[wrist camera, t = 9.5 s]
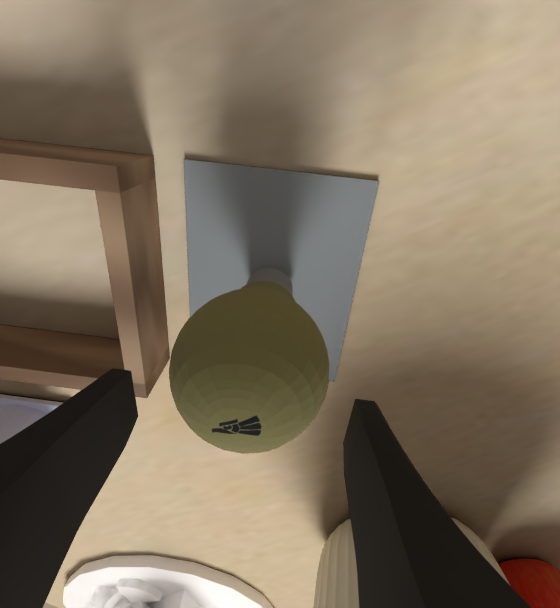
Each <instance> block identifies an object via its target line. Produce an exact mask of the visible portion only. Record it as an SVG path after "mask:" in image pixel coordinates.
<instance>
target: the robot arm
mask: <svg viewBox="0 0 560 608" xmlns="http://www.w3.org/2000/svg"><path fill="white" fill-rule="evenodd" d="M137 417H138V412H137V406H136V399H135V393H134V386H133V380H132V373H131V371H130V370H122V369H114V368H112V369H111V370H109V371H108V372H107V373H105V374H104V375H102V376H101V377H99V378H98V379H97V380H95V381H94V382H92V383H91V384H90V385H88V386H87V387H85V388H84V389H83V390H81V391H80V392H78V393H77V394H76V395H74V396H73V397H71V398H70V399H68V400H67V401H66V402H64V403H63V402H55V401H48V400H40V399H32V398H25V397H17V396H9V395H2V394H0V608H43V605H44V603H45V601H46V599H47V596H48V594H49V592H50V590H51V587H52V585H53V583H54V581H55V578H56V576H57V574H58V571H59V569H60V567H61V565H62V563H63V561H64V558H65V556H66V554H67V552H68V550H69V548H70V546H71V543H72V541H73V539H74V537H75V535H76V533H77V531H78V529H79V527H80V525H81V523H82V521H83V520H84V518H85V516H86V514H87V512H88V511H89V509H90V507H91V505H92V504H93V502H94V500H95V498H96V497H97V495H98V493H99V492H100V490H101V488H102V486H103V485H104V483H105V481H106V479H107V478H108V476H109V474H110V472H111V471H112V469H113V467H114V465H115V464H116V462H117V460H118V458H119V457H120V455H121V453H122V451H123V450H124V448H125V446H126V444H127V441H128V439H129V437H130V435H131V432H132V430H133V427H134V425H135V422H136V420H137ZM343 447H344V476H345V484H346V491H347V498H348V506H349V513H350V520H351V527H352V534H353V541H354V548H355V556H356V565H357V578H358V596H359V608H532V607H531V606H530V605H529V604H528V603H527V602H526V601H525V600H524V599H523V598H522V597H521V596H520V595H519V594H518V593H517V592H516V591H515V590H514V589H513V588H512V587H511V586H510V585H509V584H508V583H507V582H506V580H505V579H504V578H503V577H502V576H501V575H500V574H499V573H498V572H497V571H496V570H495V569H494V567H493V566H492V565H491V564H490V563H489V562H488V561H487V560H486V559H485V558H484V557H483V555H482V554H481V553H480V552H479V551H478V550H477V549H476V547H475V546H474V545H473V544H472V543H471V542H470V540H469V539H468V538H467V537H466V536H465V534H464V533H463V532H462V531H461V530H460V528H459V527H458V526H457V525H456V523H455V522H454V521H453V520H452V518H451V517H450V516H449V515H448V513H447V512H446V511H445V509H444V508H443V507H442V506H441V504H440V503H439V502H438V500H437V499H436V497H435V496H434V495H433V493H432V492H431V491H430V489H429V488H428V486H427V485H426V483H425V482H424V481H423V479H422V478H421V476H420V475H419V473H418V472H417V470H416V469H415V467H414V466H413V464H412V463H411V461H410V460H409V458H408V456H407V455H406V453H405V452H404V450H403V449H402V447H401V445H400V444H399V442H398V440H397V439H396V437H395V435H394V434H393V432H392V430H391V429H390V427H389V425H388V423H387V422H386V420H385V418H384V416H383V414H382V413H381V411H380V409H379V407H378V405H377V404H376V403H375V401H367V400H359V399H355V402H354V406H353V409H352V413H351V417H350V420H349V424H348V428H347V431H346V435H345V439H344V442H343Z"/></svg>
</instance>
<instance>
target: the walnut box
mask: <svg viewBox="0 0 560 608" xmlns="http://www.w3.org/2000/svg"><path fill="white" fill-rule="evenodd" d="M0 179H1V180H10V181H19V182H27V183H36V184H45V185H53V186H62V187H71V188H80V189H88V190H95V193H96V199H97V205H98V211H99V217H100V223H101V229H102V235H103V241H104V247H105V253H106V259H107V265H108V272H109V278H110V284H111V290H112V296H113V302H114V308H115V314H116V320H117V326H118V332H119V338H120V340H119V339H111V338H103V337H95V336H87V335H79V334H71V333H63V332H55V331H47V330H39V329H31V328H23V327H15V326H7V325H0V379H2V380H10V381H18V382H26V383H33V384H41V385H49V386H56V387H64V388H72V389H80V390H83V389H84V388H85V387H87V386H88V385H90V384H91V383H92V382H94V381H95V380H97V379H98V378H99V377H101V376H102V375H104V374H105V373H107V372H108V371H109V370H111V369H112V368H114V369H122V370H130V371H131V373H132V380H133V386H134V393H135V397H141V398H147V397H148V395H149V394H150V392H151V390H152V388H153V387H154V385H155V383H156V381H157V380H158V378H159V376H160V374H161V373H162V371H163V369H164V367H165V366H166V364H167V362H168V361H169V359H170V356H169V344H168V331H167V319H166V307H165V294H164V282H163V269H162V257H161V245H160V232H159V220H158V207H157V195H156V183H155V170H154V158H153V155H145V154H136V153H127V152H118V151H109V150H100V149H91V148H82V147H73V146H64V145H55V144H46V143H37V142H28V141H19V140H11V139H2V138H0Z"/></svg>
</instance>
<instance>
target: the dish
mask: <svg viewBox="0 0 560 608" xmlns="http://www.w3.org/2000/svg"><path fill="white" fill-rule="evenodd" d="M63 604H64V605H65V607H66V608H273V606H272V605H271V604H270V603H269V601H268V600H267V599H266V598H265V596H264V595H263V594H262V593H260V592H258V591H257V590H255V589H253V588H252V587H250V586H249V585H247V584H245V583H244V582H242V581H241V580H239V579H237V578H236V577H234V576H231V575H228V574H226V573H223V572H220V571H217V570H214V569H212V568H209V567H206V566H203V565H200V564H198V563H194V562H189V561H183V560H177V559H171V558H165V557H159V556H154V555H137V556H111V557H107V558H104V559H100V560H96V561H93V562H89V563H85V564H84V565H83V566H82V567H80V568H79V569H78V570H77V571H76V572H75V573H73V574H72V575H71V576H70V577H69V579H68V581H67V583H66V585H65V587H64V598H63Z"/></svg>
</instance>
